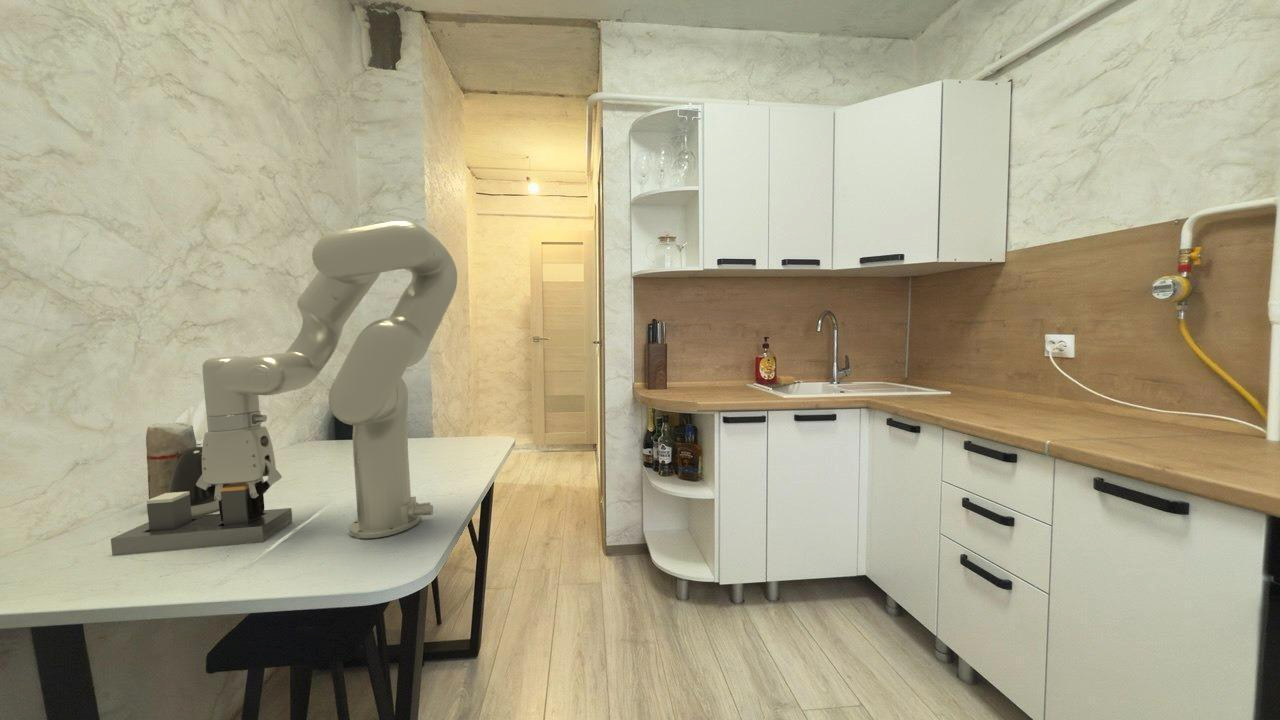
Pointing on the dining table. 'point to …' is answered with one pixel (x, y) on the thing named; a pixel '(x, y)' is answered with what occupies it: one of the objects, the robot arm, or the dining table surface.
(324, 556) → the dining table surface
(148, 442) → the tan rounded column
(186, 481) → the dark grey dome
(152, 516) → the twin plug
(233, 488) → the plug
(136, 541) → the grey slotted tray
